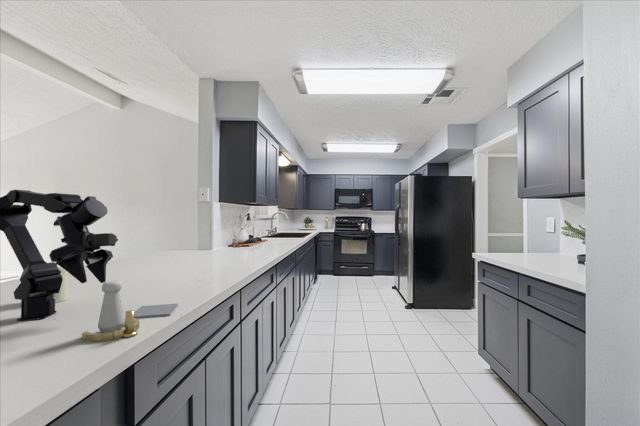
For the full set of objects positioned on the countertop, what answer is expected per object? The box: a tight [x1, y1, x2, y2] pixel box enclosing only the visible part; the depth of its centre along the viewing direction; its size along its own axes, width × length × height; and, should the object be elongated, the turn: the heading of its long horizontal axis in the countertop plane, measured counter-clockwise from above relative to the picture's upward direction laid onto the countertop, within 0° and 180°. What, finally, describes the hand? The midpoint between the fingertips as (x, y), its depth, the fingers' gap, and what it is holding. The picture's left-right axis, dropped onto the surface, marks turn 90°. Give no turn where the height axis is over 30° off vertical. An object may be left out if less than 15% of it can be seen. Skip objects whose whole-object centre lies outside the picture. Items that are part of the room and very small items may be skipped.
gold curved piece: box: [81, 309, 140, 343], centre depth 73 cm, size 10×12×6 cm
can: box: [53, 266, 69, 304], centre depth 103 cm, size 9×9×12 cm
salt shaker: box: [97, 280, 125, 333], centre depth 75 cm, size 6×6×13 cm
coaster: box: [134, 302, 179, 319], centre depth 90 cm, size 11×11×1 cm
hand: (94, 282), depth 81 cm, fingers open, 9 cm apart
